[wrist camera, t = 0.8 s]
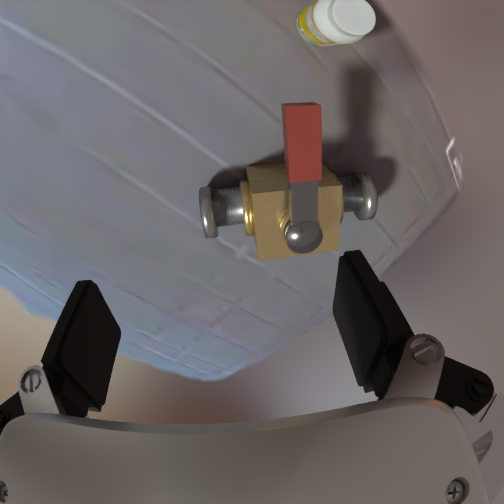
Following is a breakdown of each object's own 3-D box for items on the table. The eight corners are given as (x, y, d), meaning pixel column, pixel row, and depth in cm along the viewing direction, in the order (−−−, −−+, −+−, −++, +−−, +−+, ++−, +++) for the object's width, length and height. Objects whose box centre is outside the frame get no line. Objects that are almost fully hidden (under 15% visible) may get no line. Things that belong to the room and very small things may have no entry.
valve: (210, 228, 38) (208, 271, 31) (200, 172, 34) (193, 205, 26) (355, 211, 39) (382, 248, 32) (359, 157, 34) (393, 185, 27)
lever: (317, 242, 30) (322, 252, 29) (284, 246, 30) (287, 257, 28) (318, 102, 21) (325, 105, 20) (276, 104, 21) (280, 106, 20)
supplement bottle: (295, 44, 25) (322, 37, 18) (295, 2, 22) (323, -19, 14) (341, 49, 26) (382, 48, 18) (342, 9, 22) (382, -4, 15)
